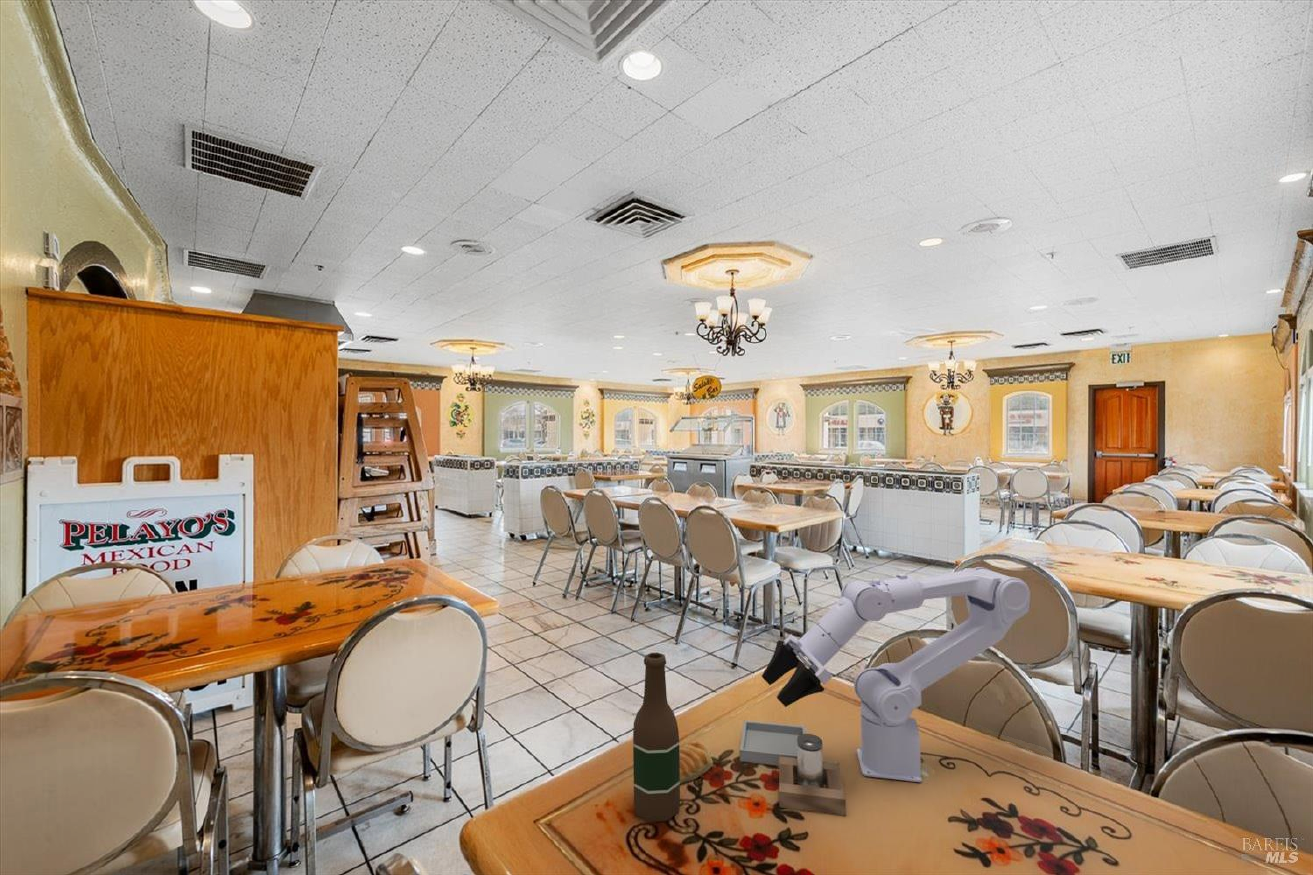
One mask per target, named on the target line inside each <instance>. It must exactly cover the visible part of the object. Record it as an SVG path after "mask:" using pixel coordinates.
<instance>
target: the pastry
mask: <svg viewBox="0 0 1313 875" xmlns="http://www.w3.org/2000/svg"><path fill="white" fill-rule="evenodd" d="M679 753H680V785H681V784H683V783H686V782H690V781H695V780H697V778H699V777H700V776H702V775H704V774H705V773H707V772H708V771H710V769H711V768H712V766H713V763H714V762H713V759H712V758H711V754H710V752H709V751H708V749H707V747H706V746H705V745H704V744H703V743H701V742H700V741H690V740H689V741H688V742H687V743H685V744H684V745H683V746H679Z"/></svg>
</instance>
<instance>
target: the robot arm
mask: <svg viewBox="0 0 1313 875" xmlns="http://www.w3.org/2000/svg"><path fill="white" fill-rule="evenodd" d="M895 576H896V577H892V578H885V579H879V578H872V579H871V581H870V582H869V583H867V582H865V581H862V580H855V581H852V582H850V583H849V584H847V583H845V584H844V586H843V587H842V589H841V592H840V598H839V599H838V600H837V601H836V602H835V604H834V605H833V606H831V608H829V610H828V611H826V613H825V614H823V615H822V617H820V618H819V619H818V621H817V622H816V623H814V625H813V626H811V628H810V629H809V630H807V632H806V633H805V634H803V635H802V636H801V638H799V639H798V638H796V637H795V636H793V634H790V635H789V636H788V637H786V638H785V639H784V640H783V642H782V641H781V640H778V641H777V642H776V645H775V648H774V649H775V650H774V652H773V655H772V658H771V659H770V661H769V663H768V664H767V666H766V668H765V670H764V672H762V675H761V678H762V679H763V680H764V681H765V682H766V683H767V684H768V685H769V686H771V685H773V684H775V683H776V682H777V681H778V680H780V679H781V678H782V677H783V676H785V675H786V674H787V673H788V672H790V671H793V670H794V669H795V671H794V672H793V674H792V676H790V679H789V680H788V681H787V683H785V685H784V686H783V687H782V688H781V690H780V691H779V692H778V693H777V696H776V699H777V700H778V701H779V702H780V704H782V705H783V706H784V707H785V708H786V707H788V706H790V705H792V704H794V703H796V702H797V701H799V700H801V699H803V698H805V697H808V696H810V695H813V694H818V693H823V692H824V691H825V690H826V689H825V688H824V687H823V685H826V684H827V683H829V681H830V680H831V679H832V678H833V675H832V674H831V673H830V672H829V671H828V670H827V669H826V667H825V665H827V663H828V662H830V661H831V660H832V659H833V658H834V656H835V655H836V654H837V653H838V652H840V650H841V649H842V648H844V647H845V645H846V644H847V643H848V642H849V641H851V640H852V638H854V636H855V635H856V634H857V633H858V632H859V631H860V630H861V629H862V628H863V627H864V626H865V625H867V623H868V622H879V621H881V620H882V619H884V618H885V617H886V615H888V614H890V613H898V612H902V611H904V612H905V611H909V610H913V609H919V608H920V607H922V605H923V603H924V601H925V600H934V599H940V598H948V597H950V598H951V597H959V596H965V601H966V607H967V612H968V619H966V620H964V621H963V622H961V623H960V624H958V625H957V626H955V627H954V628H952V629H950V630H949V631H947V632H945V633H944V634H942V635H940V636H939V637H938V638H936V639H934V640H933V641H932V642H930V643H928V644H927V645H925V646H923V647H922V648H920V649H919V650H917V651H915V652H914V653H913V654H911V655H909V656H908V657H906V658H905V659H903V660H901V661H900V662H885V663H882V664H880V665H878V666H875V667H868V668H864V669H862V670H861V671H860V672H858V674H857V675H856V677H855V679H854V682H853V687H854V692H855V694H856V696H857V697H858V698H859V700H860V735H861V738H860V739H861V740H860V741H861V745H860V746H861V747H860V748H857V749H856V755H857V758H858V762H859V765H860V770H861V774H862V775H863V776H865V777H871V778H872V777H873V778H880V779H888V780H889V779H890V780H899V781H906V782H914V783H915V782H916V783H922V782H923V781H922V776H921V775H922V774H921V772H922V769H921V768H922V767H921V737H920V730H919V726H918V722H917V720H916V718H914V717H912V716H911V715H912V713H913V712H914V710H916V709H917V708H919V707H920V706H921V705H922V691H923V690H925V689H927V688H928V687H930V686H931V685H933V684H934V683H936V682H938V681H939V680H941V679H943V678H944V677H946V676H947V675H949V674H950V673H952V672H954V671H955V670H957V669H958V668H959V667H961V666H962V665H963V666H964V664H966V663H968V662H969V661H971V660H972V659H974V658H975V657H977V656H979V655H980V654H982V653H983V652H984V651H986V650H988V649H989V648H991V647H992V646H994V645H995V644H997V643H998V642H1000V641H1001V640H1003V638H1004V637H1005V636H1006V634H1007V633H1008V631H1009V630H1010V628H1011V627H1012V626H1013V624H1014V623H1015V622H1016V621H1017V620H1019V619H1020V618H1022V617H1023V616H1025V615H1026V614H1028V613H1029V611H1030V601H1031V591H1030V588H1029V586H1028V584H1027V583H1026V582H1025V581H1024V580H1023V579H1021V578H1019V577H1013V576H1010V575H1009V576H1008V575H1005V574H1003V573H1000V572H996V571H993V570H990V569H989V568H987V567H983V566H977V567H974V568H972V567H965V568H963V569H961V570H959V571H955V572H949V573H946V574H941V575H937V576H936V575H935V576H933V577H929V578H928V577H927V578H924V579H920V580H917V579H916V578H915V577H914V576H912V575H907V574H906V573H904V572H903V573H902V572H901V573H896V575H895ZM804 657H806V658H807V660H806V659H805V658H804ZM821 683H822V684H823V685H822V684H821Z"/></svg>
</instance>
